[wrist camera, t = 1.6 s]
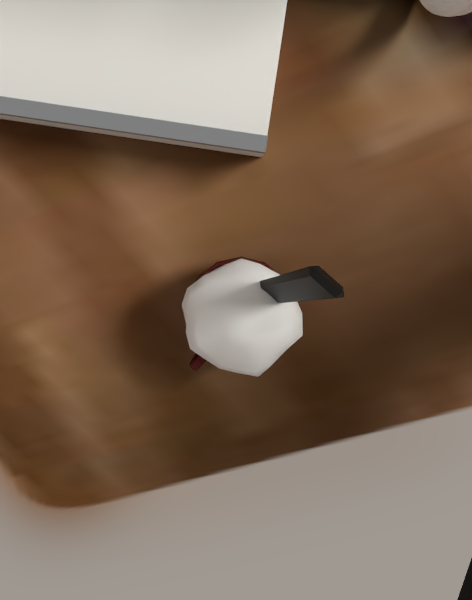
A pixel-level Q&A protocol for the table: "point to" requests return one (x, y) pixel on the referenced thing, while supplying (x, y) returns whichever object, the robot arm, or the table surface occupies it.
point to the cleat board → (144, 68)
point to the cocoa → (249, 312)
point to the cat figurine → (448, 7)
